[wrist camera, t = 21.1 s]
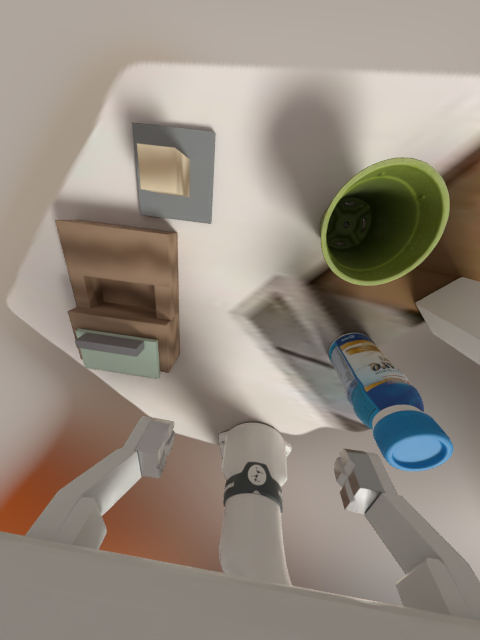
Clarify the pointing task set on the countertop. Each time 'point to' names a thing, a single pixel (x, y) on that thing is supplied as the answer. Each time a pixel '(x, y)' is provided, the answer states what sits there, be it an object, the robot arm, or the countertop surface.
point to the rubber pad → (201, 172)
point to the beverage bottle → (388, 405)
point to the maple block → (163, 170)
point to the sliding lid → (119, 353)
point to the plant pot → (385, 221)
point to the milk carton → (455, 315)
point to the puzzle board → (124, 282)
